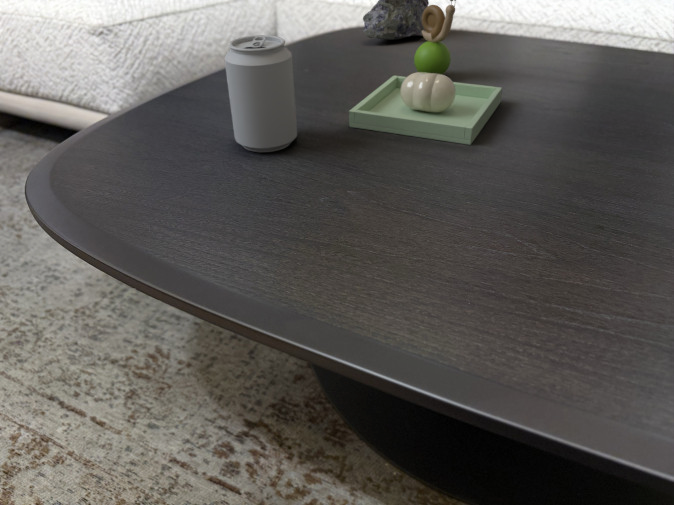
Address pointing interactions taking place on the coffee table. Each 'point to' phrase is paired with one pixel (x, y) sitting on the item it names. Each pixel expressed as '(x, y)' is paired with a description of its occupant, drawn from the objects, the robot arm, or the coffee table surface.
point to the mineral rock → (395, 19)
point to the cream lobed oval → (428, 92)
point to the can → (261, 92)
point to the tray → (427, 113)
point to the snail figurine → (435, 40)
